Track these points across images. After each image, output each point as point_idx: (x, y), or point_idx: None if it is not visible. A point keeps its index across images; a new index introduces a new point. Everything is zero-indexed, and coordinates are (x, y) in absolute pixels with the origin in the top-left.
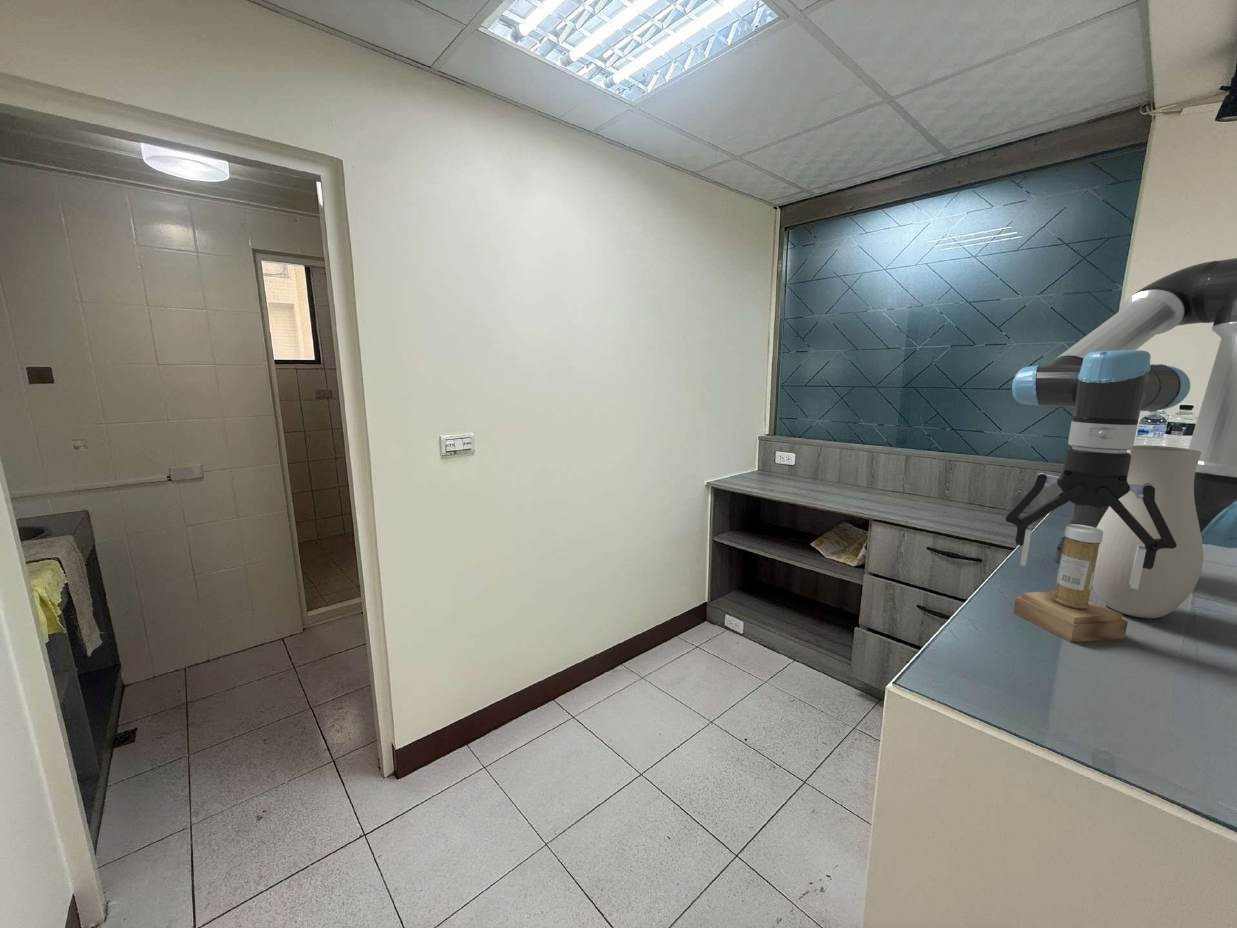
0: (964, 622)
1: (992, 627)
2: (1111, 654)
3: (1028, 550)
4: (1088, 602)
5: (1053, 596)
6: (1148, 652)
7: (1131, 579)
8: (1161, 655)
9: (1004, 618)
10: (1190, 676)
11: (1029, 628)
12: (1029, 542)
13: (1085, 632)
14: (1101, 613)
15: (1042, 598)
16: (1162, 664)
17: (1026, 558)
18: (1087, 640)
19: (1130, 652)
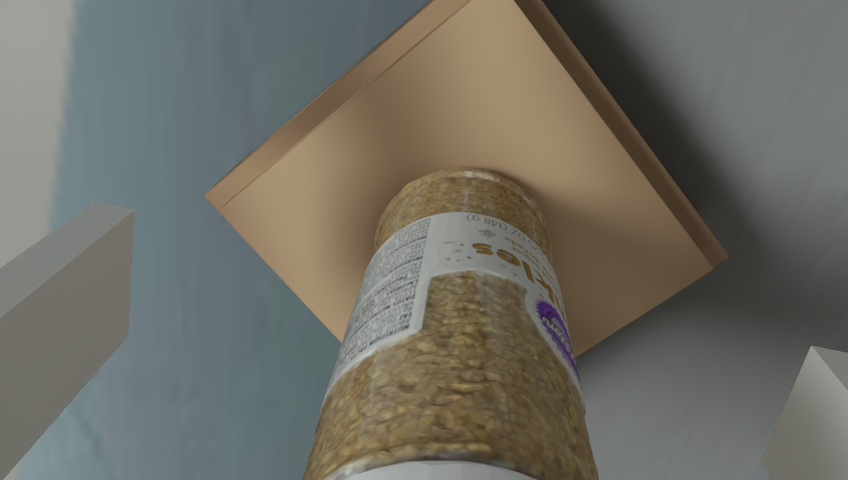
0: None
1: (152, 399)
2: None
3: (75, 280)
4: (578, 162)
5: (374, 243)
6: (743, 325)
7: (804, 434)
8: (788, 329)
9: (196, 268)
10: None
11: (296, 328)
12: (4, 475)
13: None
14: (594, 319)
15: (323, 244)
16: (745, 417)
17: (93, 373)
18: None
19: (662, 364)
